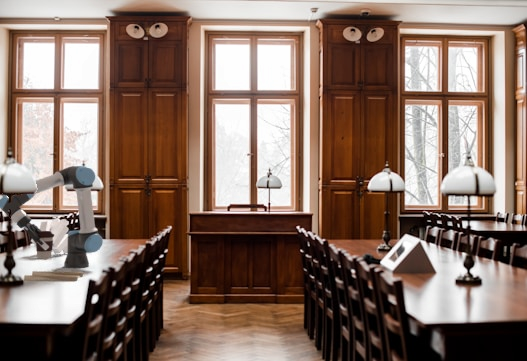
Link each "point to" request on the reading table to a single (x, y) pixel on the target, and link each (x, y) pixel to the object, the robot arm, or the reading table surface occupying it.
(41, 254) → the coffee cup
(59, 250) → the white jagged sculpture
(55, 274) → the beech guide rails
